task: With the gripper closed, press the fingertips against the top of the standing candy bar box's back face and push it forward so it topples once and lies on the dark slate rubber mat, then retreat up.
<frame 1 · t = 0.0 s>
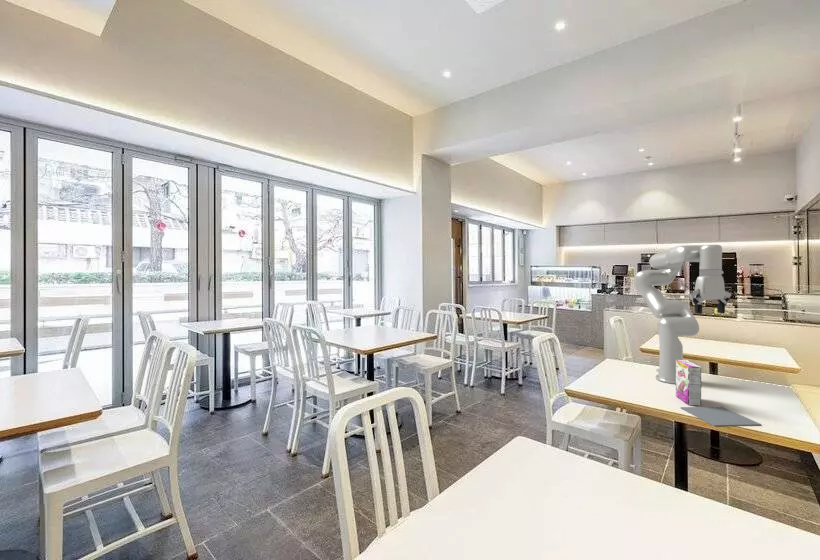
hand: (709, 313, 163), 37 cm above the table, tool pointing down, fingers open, 9 cm apart
candy bar box: (687, 401, 161), on the table
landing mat: (718, 416, 145), on the table
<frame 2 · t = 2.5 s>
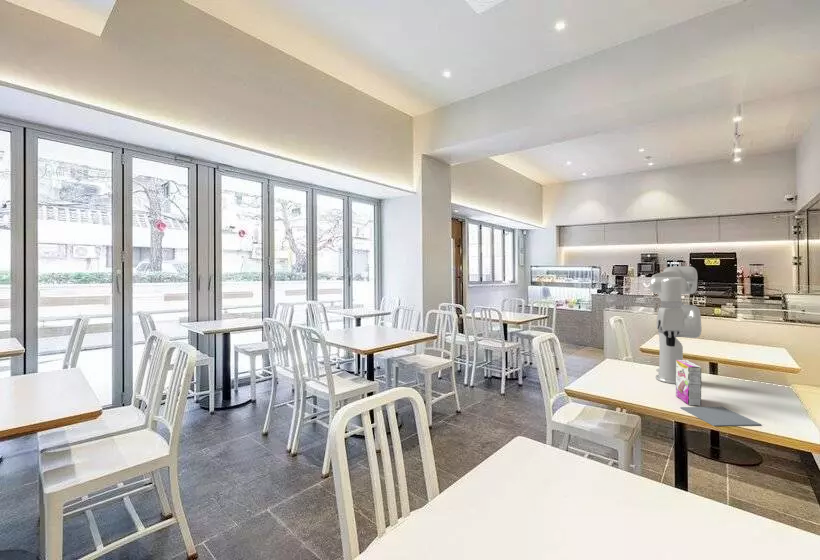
hand: (670, 345, 170), 21 cm above the table, tool pointing down, fingers closed
nothing on the table moved.
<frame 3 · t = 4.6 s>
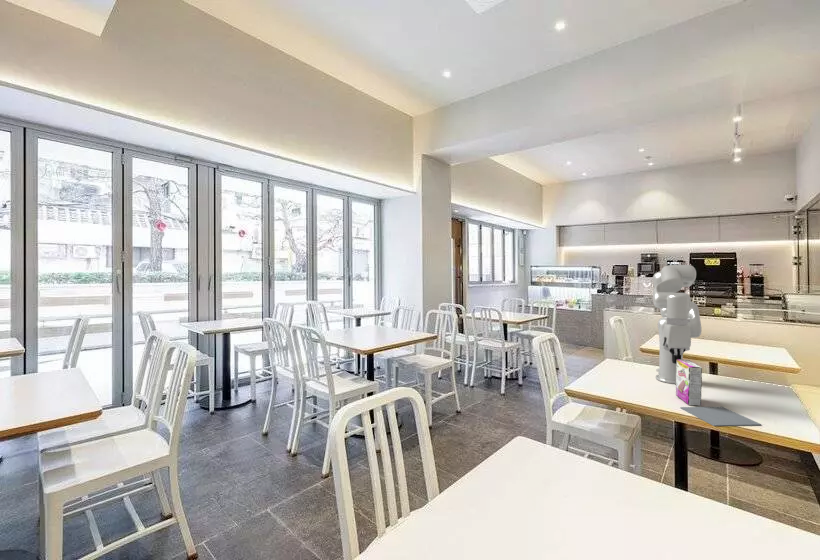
hand: (676, 363, 167), 14 cm above the table, tool pointing down, fingers closed
candy bar box: (687, 401, 161), on the table, touching gripper
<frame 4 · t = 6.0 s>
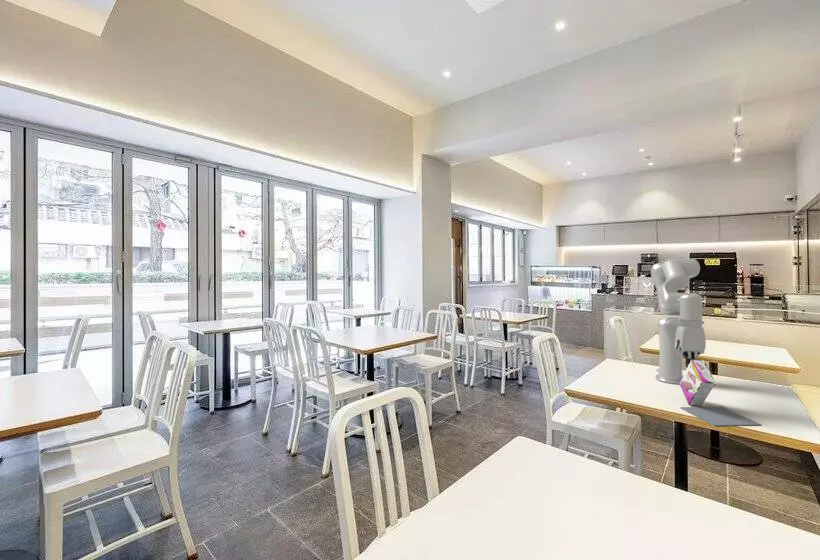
hand: (690, 367, 158), 15 cm above the table, tool pointing down, fingers closed
candy bar box: (689, 394, 159), point 3 cm above the table, touching gripper
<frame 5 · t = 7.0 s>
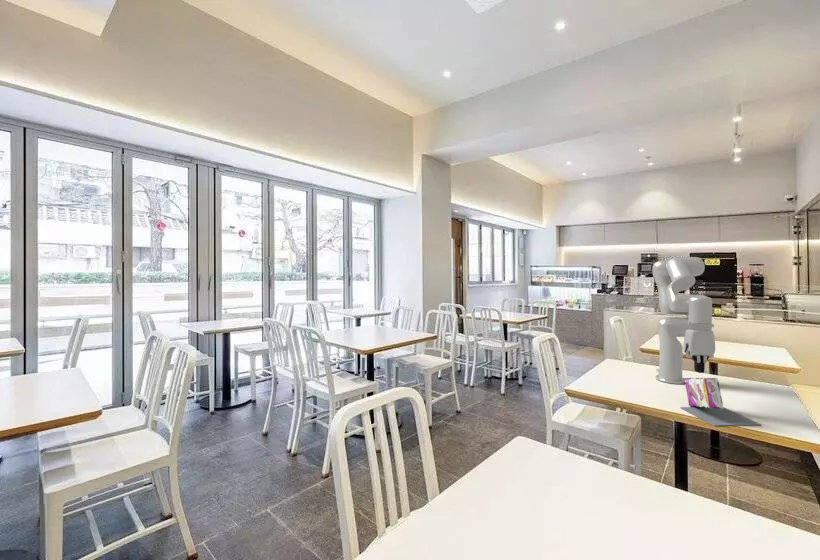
hand: (699, 371, 154), 14 cm above the table, tool pointing down, fingers closed
candy bar box: (691, 392, 157), point 5 cm above the table
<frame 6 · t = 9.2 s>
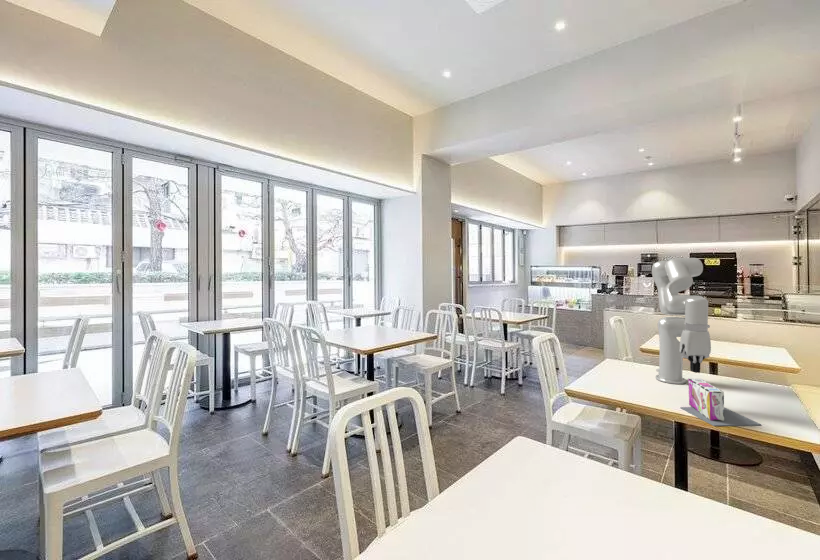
hand: (695, 371, 156), 14 cm above the table, tool pointing down, fingers closed
candy bar box: (694, 391, 155), point 6 cm above the table, touching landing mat
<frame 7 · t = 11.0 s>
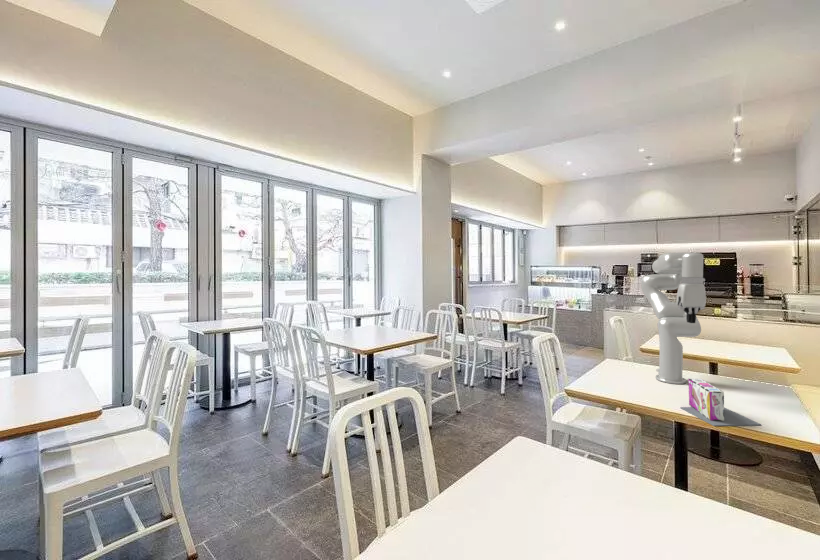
hand: (690, 322, 167), 32 cm above the table, tool pointing down, fingers closed
nothing on the table moved.
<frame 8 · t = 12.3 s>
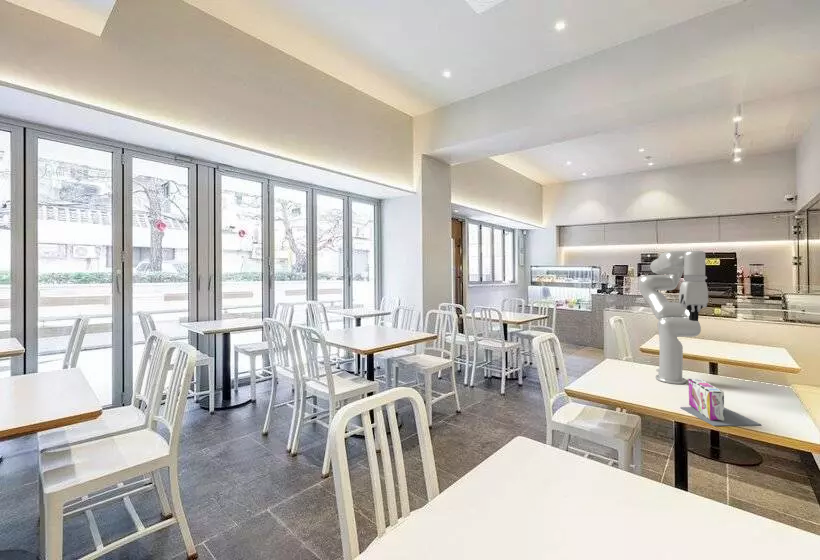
hand: (693, 320, 167), 33 cm above the table, tool pointing down, fingers closed
nothing on the table moved.
at the end: candy bar box tilted 89°; candy bar box touching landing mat; candy bar box inside the target area (1.1 cm from its centre), point 5.8 cm above the table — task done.
